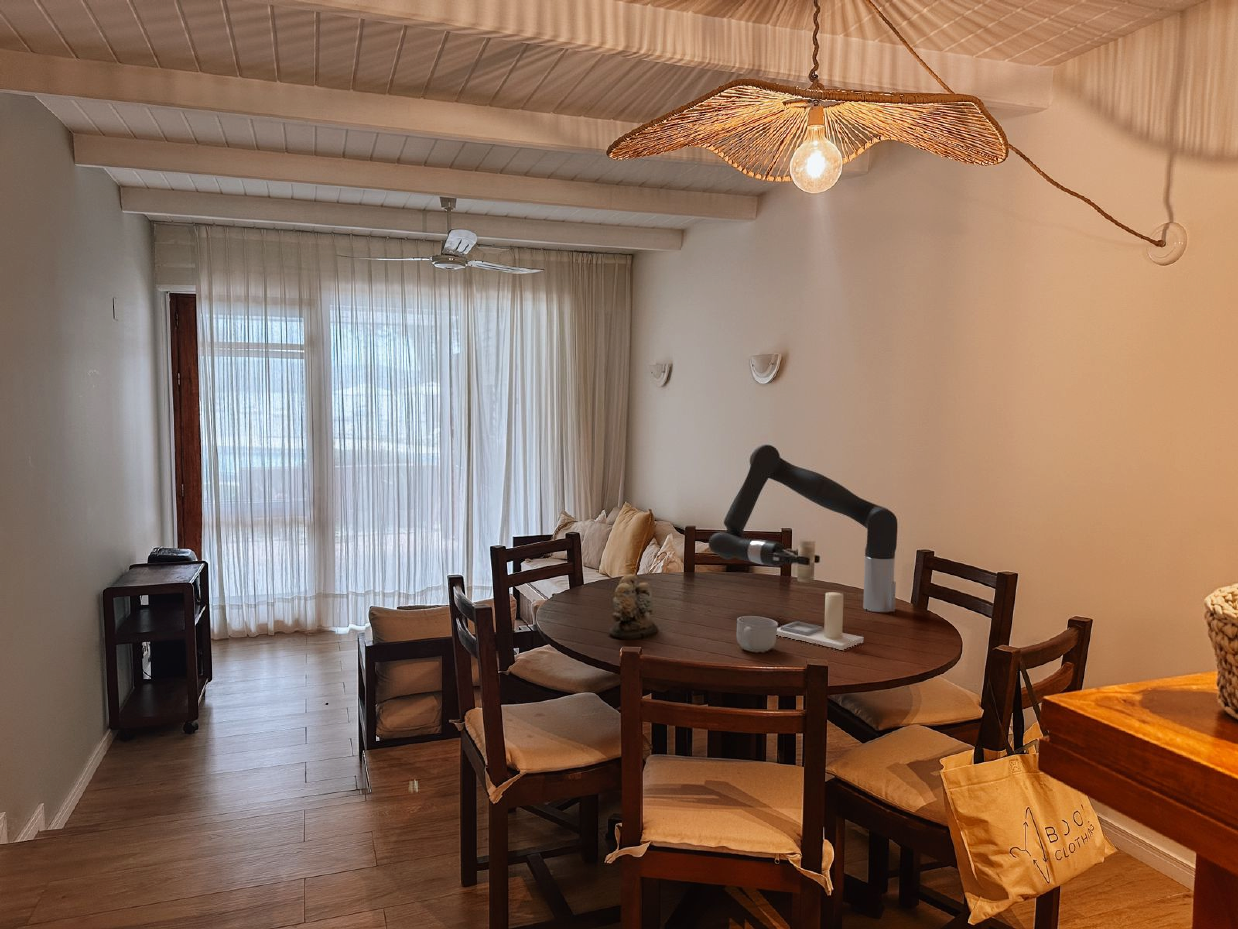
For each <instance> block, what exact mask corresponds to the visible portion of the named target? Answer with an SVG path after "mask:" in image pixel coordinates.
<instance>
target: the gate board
mask: <svg viewBox="0 0 1238 929" xmlns="http://www.w3.org/2000/svg"><path fill="white" fill-rule="evenodd" d="M824 603H825V604H824V626H823V625H818V624H812V623H807V622H802V621H798V620H795V621H794V622H790V623H787V624H784V625H781V626H780V627H777V635H778V636H777V637H779V636H781V637H780V638H783V637H788V638H791V639H790V640H792V639H795V640H794V641H796V640H802V641H806V642H809V643H816V644H820V645H823V646H827V647H833V648H836V649H839V650H843V651H845V650H844V649H846V648H847V647H851V648H853V647H855V646H854V645H856V646H857V644H858V643H861V644H863V643H864V636H859V635H856V634H855V635H854V634H851V633H845V632H843V622H844V619H843V618H844V617H843V616H844V614H843V613H844V594H843V593H842V592H837V591H836V592H834V591H833V592H832V591H831V592H830V591H829V592H825V599H824ZM788 638H787V639H788ZM809 643H808V644H809ZM858 645H859V644H858ZM852 646H853V647H852ZM839 650H838V651H839ZM846 650H847V649H846Z"/></svg>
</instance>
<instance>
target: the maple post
mask: <svg viewBox="0 0 1238 929" xmlns="http://www.w3.org/2000/svg"><path fill="white" fill-rule="evenodd" d="M797 549H798V556H802V557H808V558H810V565H803V564H797V582H800V583H814V582H815V581H814V580H815V563H814V562H815V555H816V553H815V552H816V541H815V540H812V539H798V548H797Z"/></svg>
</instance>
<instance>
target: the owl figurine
mask: <svg viewBox="0 0 1238 929" xmlns="http://www.w3.org/2000/svg"><path fill="white" fill-rule="evenodd" d="M612 602H613V606H614V612H613V613H610V616H611V617H612V618H613V620H614V622H617V623H616V624H614V625H613V626H612V627H611V628H610V629H609V630H608V635H609V636H610V637H611V638H612V637H614V638H618V639H623V640H638V639H642V638H644V637H645V638H648V637H651V635H652V636H654V635H655V634H656V633H657V632H658V629H659V627H658V625H656V624H655V622H654V617H655V614H656V609H655V608H653V606H654V600H653V592H652V588H651V585H650V584H649V582H640V583H638V576H636V575H635V574H629V573H627V574H625V575H623V576H622V577H621V579H620V580H619V583H618V585H617V587H616V588H615V591H614V598H613V599H612ZM653 634H654V635H653Z"/></svg>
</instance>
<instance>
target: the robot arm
mask: <svg viewBox="0 0 1238 929" xmlns="http://www.w3.org/2000/svg"><path fill="white" fill-rule="evenodd" d="M749 465H750V466H749V470H748V473H747V475H746V477H745V479H744V482H743V484H742V485H741V487H740V489H739V491H738V493H737V494H736V496H735V498H733V499H734V500H733V502H732V503H731V505H730V507H729V509H728V510H727V513H726V515H725V518H724V520H723V524H724V526H725V528H726V532H716V533H714V534H712V535H711V536H710V537H709V539H708V547H709V549H710V551H711V552H713V554H715V555H717V556H719V557H720V558H722V559H725V560H731V559H734V558H736V559H739V560H741V561H746V562H752V563H755V564H759V565H762V566H763V565H764V566H770V567H776V568H777V567H780V566H781V565H784V564H785V565H790V566H791V565H793V564H794V565H798V564H803V565H810V558H808V557H802V556H798V548H797V549H792V548H785V546H784V545H783V543H781V542H779V541H772V540H764V539H754V538H747V537H746V538H745V537H743V536H744V529H745V528H746V526H747V523H748V521H749V519H750V518H751V515H752V513H753V511H754V509H755V505H756V504H757V501H758V499H759V496H760V495H761V493H762V490H763V488H764V487H765V485H766V483H767V481H768V479H770V480H773V481H775V482H777V483H780V484H783V485H784V486H785V487H788V488H789V489H790V490H792V491H794V493H797V494H798V495H800V496H803V497H804V498H805V499H807V500H809V501H810V502H812V503H814V504H817V505H818V506H820V507H822V508H824V509H827V510H830V511H832V512H835V513H838V514H840V515H844V516H846V517H848V518H850V519H851V520H854V521H855V522H857V523H858V524H860V525H861V526H863V527H864V528H866V529H867V532H866V535H867V536H866V545H865V549H864V573H863V574H864V576H863V578H864V580H863V601H862V602H863V603H862V604H863V606H862V607H863V609H864V610H866V609H867V610H866V611H869V612H873V613H874V612H875V613H889V612H895V610H896V587H897V585H896V581H895V562H896V560H895V559H896V558H895V557H896V550H897V545H898V544H897V543H898V542H897V541H898V519H897V516H896V515H895V513H894V512H892V511H891V510H889V508H886V507H884V506H881V505H879V504H875V503H873V502H871V501H868V500H866V499H864V498H860V496H857V495H856V494H855V493H853V492H851V491H850V490H849V489H848V488H846V487H844V485H842V484H840V483H839V482H837V481H836V480H835V481H834V480H833V479H831V478H830V477H827V476H825V475H823V474H822V473H821V474H820V473H818V472H816V471H813V470H809V469H806V468H803V467H799V466H796V465H795V464H793V463H790V462H789V461H787V460H785V459H783V458H782V457H781V455H780V452H779V450H778V449H777V448H776V447H775V446H773V445H770V444H762V445H760V446H758V447H756V448H755V449H754V451H753V452H752V454H751V455H750V457H749ZM820 561H821V557H820V555H817V554H815V562H814V564H818V563H820Z"/></svg>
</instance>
